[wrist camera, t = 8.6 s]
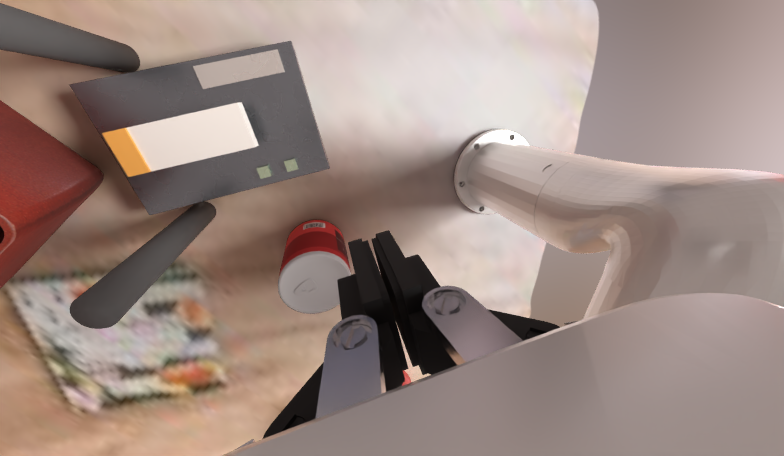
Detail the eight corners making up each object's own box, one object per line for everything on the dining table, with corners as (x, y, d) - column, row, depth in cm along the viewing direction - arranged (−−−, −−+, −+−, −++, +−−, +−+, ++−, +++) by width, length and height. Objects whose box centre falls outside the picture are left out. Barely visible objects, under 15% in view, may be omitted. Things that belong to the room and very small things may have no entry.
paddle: (241, 102, 27) (236, 102, 26) (258, 145, 29) (254, 147, 28) (112, 131, 27) (100, 133, 25) (137, 173, 28) (127, 177, 27)
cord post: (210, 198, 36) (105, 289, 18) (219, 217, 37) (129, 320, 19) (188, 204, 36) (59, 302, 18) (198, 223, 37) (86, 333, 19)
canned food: (274, 244, 40) (261, 289, 30) (316, 206, 40) (316, 239, 30) (315, 276, 44) (315, 326, 34) (354, 241, 43) (366, 281, 33)
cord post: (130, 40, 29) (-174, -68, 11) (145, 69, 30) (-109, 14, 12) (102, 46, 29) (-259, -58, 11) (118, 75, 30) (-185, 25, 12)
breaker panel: (293, 48, 32) (289, 36, 27) (328, 162, 38) (330, 171, 33) (99, 87, 30) (52, 83, 24) (166, 204, 35) (140, 221, 30)
